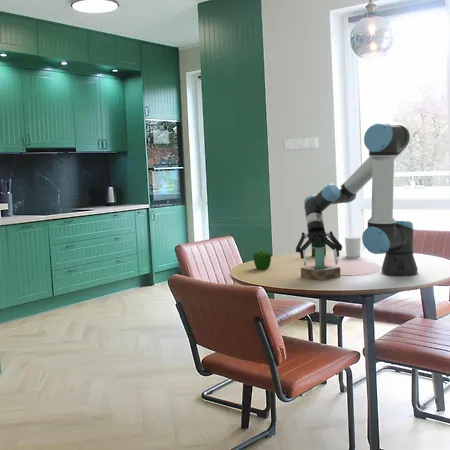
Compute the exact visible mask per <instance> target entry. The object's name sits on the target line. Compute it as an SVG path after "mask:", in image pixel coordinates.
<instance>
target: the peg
mask: <svg viewBox="0 0 450 450" xmlns="http://www.w3.org/2000/svg"><path fill="white" fill-rule="evenodd" d="M314 263H315V264H314V265H315V268H316V269H324V268H325V265H326V263H325V256H324V249H315V257H314Z"/></svg>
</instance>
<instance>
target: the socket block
mask: <svg viewBox="0 0 450 450" xmlns="http://www.w3.org/2000/svg"><path fill="white" fill-rule="evenodd" d="M300 277H301V278H305V279H310V280H315V281H320V282H321V281H325V280H329V279H335V278H340V277H341V267H339V266H334V265H329V264H325V268H324V269H316V268H315V264H314V265H309V266H303V267H300Z"/></svg>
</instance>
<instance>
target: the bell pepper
mask: <svg viewBox="0 0 450 450" xmlns="http://www.w3.org/2000/svg"><path fill="white" fill-rule="evenodd" d="M271 261H272V254H271V252H269V251H264V250H263V249H262V248H259V251H257V252H256V251H255V252H254V253H253V262H254V267H255V268H256V269H257V270H265V269H266V270H267V269H269V268H270V265H271Z"/></svg>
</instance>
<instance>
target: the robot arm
mask: <svg viewBox="0 0 450 450" xmlns="http://www.w3.org/2000/svg"><path fill="white" fill-rule="evenodd" d="M410 138H411V135H410V131H409V129H408V128H407V127H406V125H404V124H403V123H400V122H382V121H381V122H377V123H373V124H372V125H370V126H369V127H368V128H367V129H366V131H365V133H364V136H363V143H364V146H365V147H366V149H367V150H368V158H366V160H365V161H364V162H363V163H361V165H360V166H359V167H358V168H357V169H355V171H353V173H352V174H351V175H350V176H349V177H348V178H347V179H346V180H345V181H344V182H343V183H342V184H341V185H340V186H337V185H336V184H334V183H329V184H327V185H325V186H324V187H323V188H322V189H321V190H320V191H318V193H317V194H315V195H314V194H313V195H309V196H307V197H305V199H304V202H303V203H304V204H303V205H304V211H305V219H306V225H307V226H306V227H307V228H306V229H307V233H305V232H301V237H300V239H299V241H298V243H297V245H296V247H295V252H296V253H299V255H300V259H301V260H302V261H303V267H307V257H306V256H307V255H306V250H307V249H308V247H309V246H310V245H312V244H311V243H312V242H314V243H317V242H318V243H321V242H323V243H324V244H326V246H328V247H329V248H330V249H331V250H333V257H334V258H333V259H334V263H335V266H336V265H338V262H339V259H338V258H339V257H340V252H342V250H343V245H342V244H341V243H340V241H338V239H337V238H336V236H334V233H333V231H329V232H326V229H325V224H324V216H323V212H324V211H325V210H326V209H327V208H329V206H331V205H337V204H346V203H347V204H349V203H351V202H354V201H355V200H356V198H357V193H358V192H360V190H361V189H362V188H364V186H366V185H367V183H369V181H372V182H371V183H372V185H371V217H370V218H369V219H368V220H367V228H366V229H364V231H363V233H362V236H361V241H362V244H363V246H364V248H365V249H366V250H367V251H368V252H369V253H371V254H374V255H384V254H385V255H384V260H383V262H382V266H381V273H382V274H384V275H387V276H400V277H401V276H414V275H417V274H418V272H419V271H418V270H419V268H418V266H417V263H416V260H415V256H414V224H413V222H412V221H409V220H396V219H395V218H394V216H393V215H394V212H393V211H394V178H395V177H394V175H395V160H396V158H397V157H398V156H399V155H400V154H401V153H402V152H404V150H406V148H407V147H408V145H409V143H410ZM307 238H308V239H307ZM328 238H329V239H328ZM306 239H307V240H306ZM305 240H306V242H305ZM304 242H305V243H304ZM303 243H304V244H303Z"/></svg>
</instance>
